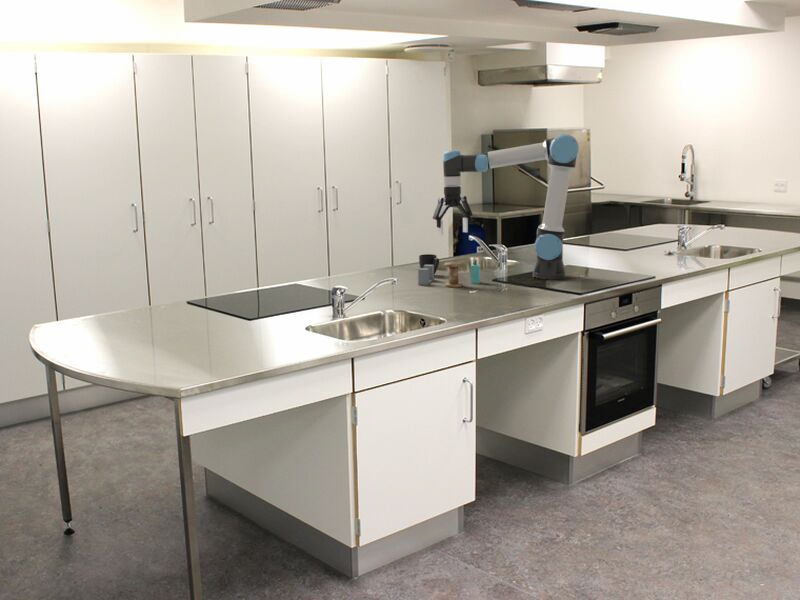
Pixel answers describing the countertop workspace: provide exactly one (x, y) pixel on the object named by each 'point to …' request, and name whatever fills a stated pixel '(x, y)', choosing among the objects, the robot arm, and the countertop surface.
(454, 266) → the bobbin
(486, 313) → the countertop surface
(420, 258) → the mug
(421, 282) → the notch board
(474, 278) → the teal bottle
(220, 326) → the countertop surface
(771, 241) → the countertop surface
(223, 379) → the countertop surface
